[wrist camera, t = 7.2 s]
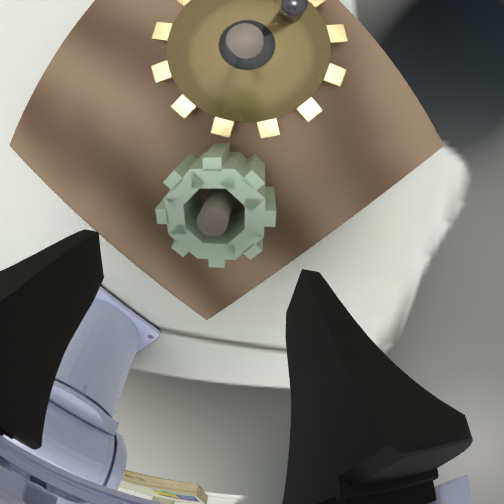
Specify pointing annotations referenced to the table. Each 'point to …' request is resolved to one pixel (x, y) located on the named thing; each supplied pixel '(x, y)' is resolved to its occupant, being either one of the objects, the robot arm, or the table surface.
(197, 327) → the table surface
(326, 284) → the robot arm
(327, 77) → the brass gear
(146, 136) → the gear board
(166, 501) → the reusable coffee cup
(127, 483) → the puzzle box
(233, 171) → the pale green gear
